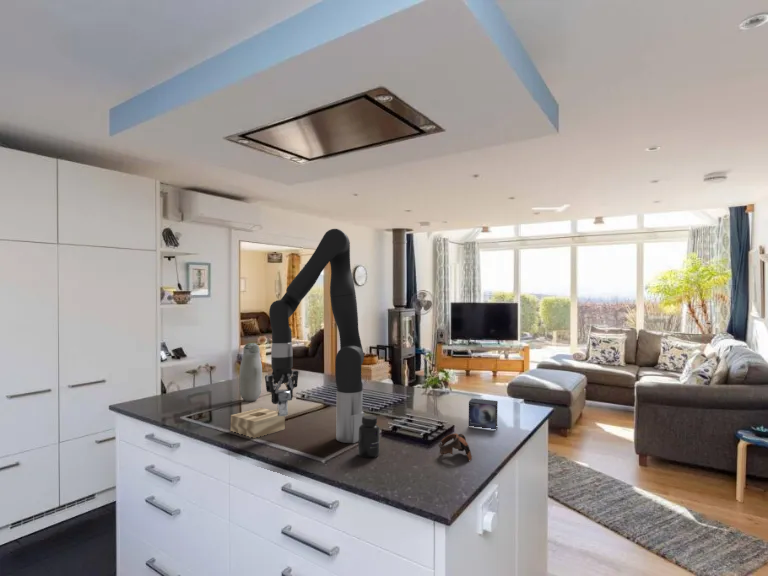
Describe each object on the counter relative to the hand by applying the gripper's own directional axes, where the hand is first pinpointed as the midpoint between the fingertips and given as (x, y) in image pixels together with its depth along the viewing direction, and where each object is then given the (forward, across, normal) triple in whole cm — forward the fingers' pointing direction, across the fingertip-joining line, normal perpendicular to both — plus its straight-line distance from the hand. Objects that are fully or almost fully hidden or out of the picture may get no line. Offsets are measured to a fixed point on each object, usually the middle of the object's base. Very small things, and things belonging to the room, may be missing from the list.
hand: (282, 401), depth 156 cm
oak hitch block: (+12, 0, +14) cm, 18 cm away
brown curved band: (+14, +20, -59) cm, 64 cm away
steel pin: (+5, 0, 0) cm, 5 cm away
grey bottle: (+12, +28, +54) cm, 62 cm away
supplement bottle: (+14, +5, -35) cm, 38 cm away
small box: (+15, +55, -54) cm, 78 cm away
